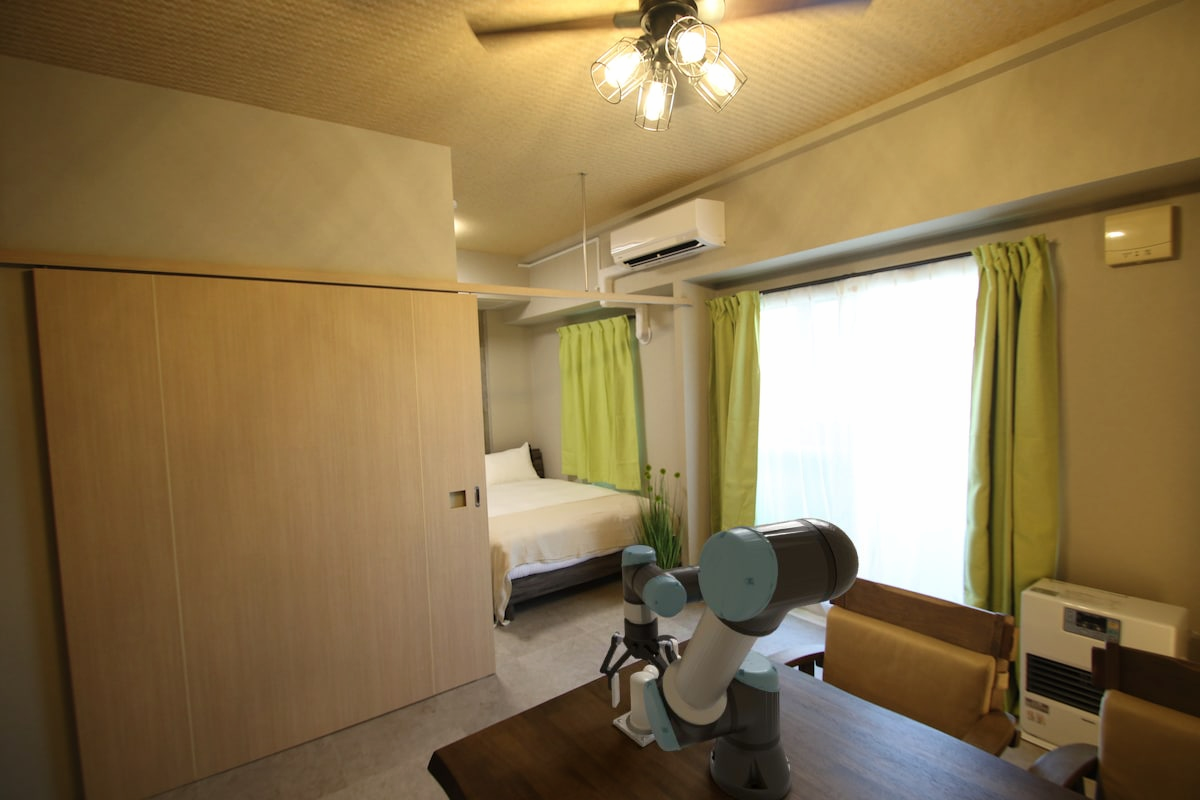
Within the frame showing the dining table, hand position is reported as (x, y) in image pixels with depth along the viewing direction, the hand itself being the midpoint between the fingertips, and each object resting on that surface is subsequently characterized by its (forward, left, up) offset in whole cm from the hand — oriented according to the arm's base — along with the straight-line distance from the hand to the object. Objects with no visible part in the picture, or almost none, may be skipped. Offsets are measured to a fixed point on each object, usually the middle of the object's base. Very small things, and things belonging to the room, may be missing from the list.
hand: (644, 710), depth 118 cm
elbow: (+1, -1, -3) cm, 3 cm away
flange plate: (0, 0, -4) cm, 4 cm away
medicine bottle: (+8, -15, -4) cm, 17 cm away
